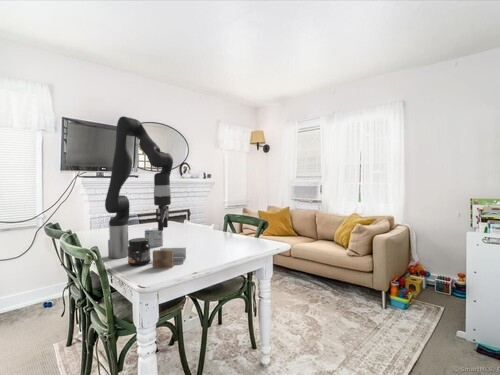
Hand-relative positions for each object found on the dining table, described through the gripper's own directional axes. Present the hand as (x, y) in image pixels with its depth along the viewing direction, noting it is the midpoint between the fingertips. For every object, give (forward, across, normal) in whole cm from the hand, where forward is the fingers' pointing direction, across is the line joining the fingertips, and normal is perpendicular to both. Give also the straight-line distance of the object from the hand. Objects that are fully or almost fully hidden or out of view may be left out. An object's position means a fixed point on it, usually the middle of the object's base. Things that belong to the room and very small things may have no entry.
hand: (163, 229), depth 130 cm
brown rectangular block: (+18, 0, 0) cm, 18 cm away
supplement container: (+18, -7, -14) cm, 24 cm away
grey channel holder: (+18, -8, +2) cm, 20 cm away
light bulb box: (+18, -44, -17) cm, 50 cm away
